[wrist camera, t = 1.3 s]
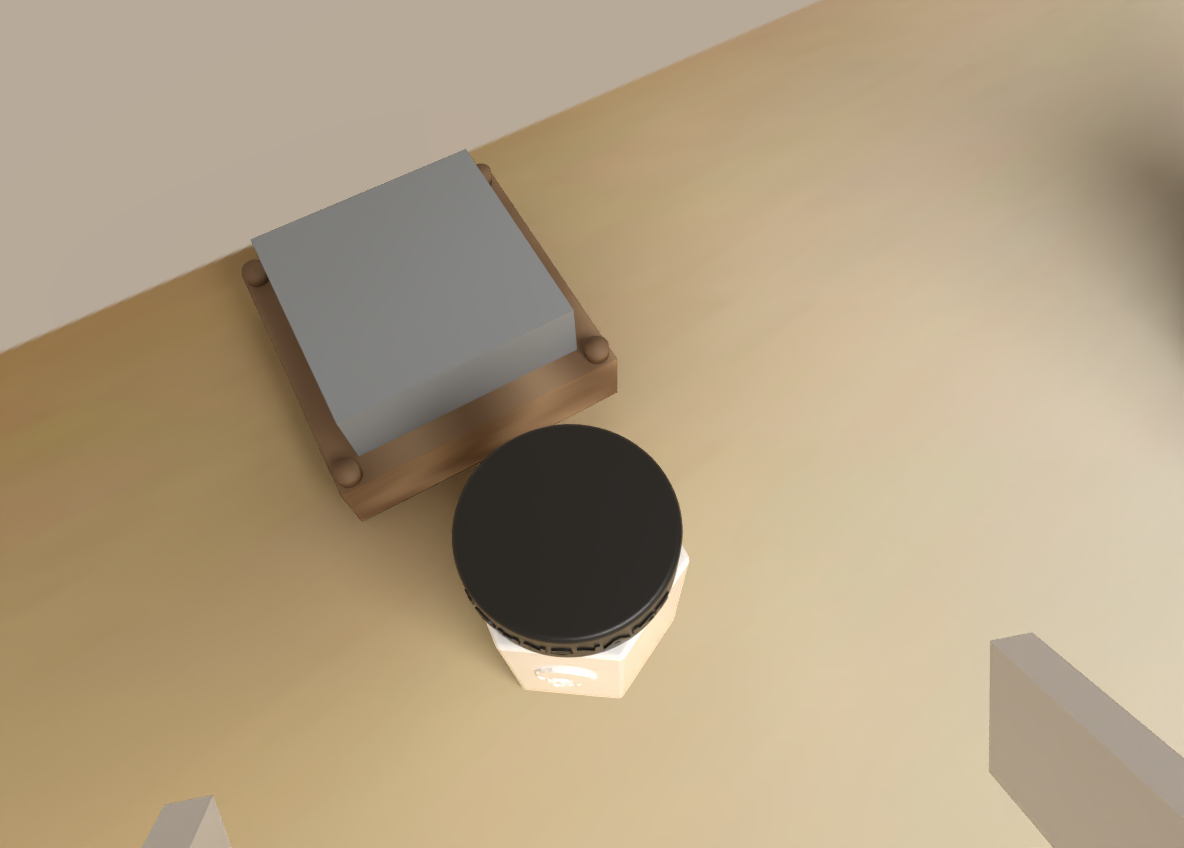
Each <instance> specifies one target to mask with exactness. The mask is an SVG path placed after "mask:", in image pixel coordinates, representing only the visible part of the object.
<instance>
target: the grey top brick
mask: <svg viewBox="0 0 1184 848" xmlns="http://www.w3.org/2000/svg"><path fill="white" fill-rule="evenodd" d="M251 242H252V244H253V246H254V248H255V250H256V252H257V255H258V257H259V259H260V261H261V263H262V265H263V267H264V270H265V272H266V274H267V276H268V278H269V280H270V282H271V285H272V287H273V289H274V291H275V293H276V295H277V297H278V300H279V302H280V304H281V306H282V308H283V310H284V312H285V315H286V317H287V319H288V321H289V323H290V325H291V327H292V330H293V332H294V334H295V336H296V338H297V340H298V342H299V345H300V347H301V349H302V351H303V353H304V355H305V357H306V360H307V362H308V364H309V366H310V368H311V370H312V372H313V375H314V377H315V379H316V381H317V383H318V385H319V387H320V390H321V392H322V394H323V396H324V398H325V400H326V402H327V405H328V407H329V409H330V411H331V413H332V415H333V417H334V420H335V422H336V424H337V425H338V427H339V428H340V430H341V431H342V433H343V434H344V435H345V437H346V438H347V440H348V441H349V443H350V444H351V446H352V447H353V449H354V450H355V452H356V453H357V454H358V456H361V455H363V454H365V453H367V452H369V451H371V450H373V449H375V448H377V447H379V446H381V445H383V444H385V443H387V442H389V441H392V440H394V439H396V438H398V437H400V436H402V435H404V434H406V433H408V432H410V431H412V430H414V429H416V428H418V427H420V426H422V425H424V424H426V423H428V422H430V421H432V420H434V419H436V418H438V417H441V416H443V415H445V414H447V413H449V412H451V411H453V410H455V409H457V408H459V407H461V406H463V405H465V404H467V403H469V402H471V401H473V400H475V399H477V398H479V397H481V396H483V395H485V394H487V393H489V392H492V391H494V390H496V389H498V388H500V387H502V386H504V385H506V384H508V383H510V382H512V381H514V380H516V379H518V378H520V377H522V376H524V375H526V374H528V373H530V372H532V371H534V370H536V369H538V368H541V367H543V366H545V365H547V364H549V363H551V362H553V361H555V360H557V359H559V358H561V357H563V356H565V355H567V354H569V353H571V352H573V351H575V350H577V344H576V332H575V320H574V310H573V308H572V307H571V305H570V304H569V302H568V301H567V299H566V298H565V296H564V295H563V293H562V292H561V290H560V289H559V288H558V286H557V285H556V283H555V282H554V280H553V279H552V277H551V276H550V274H549V273H548V271H547V270H546V268H545V267H544V265H543V264H542V262H541V261H540V259H539V258H538V256H537V255H536V253H535V252H534V250H533V249H532V247H531V246H530V244H529V243H528V241H527V240H526V238H525V237H524V235H523V234H522V232H521V231H520V229H519V228H518V226H517V225H516V223H515V222H514V220H513V219H512V217H511V216H510V214H509V213H508V211H507V210H506V208H505V207H504V205H503V204H502V202H501V201H500V199H499V198H498V196H497V195H496V194H495V192H494V191H493V189H492V188H491V186H490V185H489V183H488V182H487V180H486V179H485V177H484V176H483V174H482V173H481V171H480V170H479V168H478V167H477V165H476V164H475V162H474V161H473V159H472V158H471V156H470V155H469V153H468V152H467V150H466V149H465V150H462V151H460V152H458V153H456V154H453V155H451V156H448V157H446V158H443V159H441V160H439V161H436V162H434V163H432V164H429V165H427V166H424V167H422V168H420V169H417V170H415V171H413V172H410V173H408V174H405V175H403V176H401V177H398V178H396V179H394V180H391V181H389V182H386V183H384V184H382V185H379V186H377V187H374V188H372V189H370V190H367V191H365V192H363V193H360V194H358V195H356V196H353V197H351V198H348V199H346V200H344V201H341V202H339V203H336V204H334V205H332V206H329V207H327V208H325V209H322V210H320V211H318V212H315V213H313V214H310V215H308V216H306V217H303V218H301V219H298V220H296V221H294V222H292V223H289V224H287V225H284V226H282V227H279V228H277V229H275V230H272V231H270V232H268V233H265V234H263V235H260V236H258V237H256V238H253V239H251Z"/></svg>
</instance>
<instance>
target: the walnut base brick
mask: <svg viewBox="0 0 1184 848" xmlns="http://www.w3.org/2000/svg"><path fill="white" fill-rule="evenodd" d="M476 165H477V167H478V168H479V170H480V171H481V173H482V174H483V176H484V177H485V179H486V180H487V182H488V183H489V185H490V186H491V188H492V189H493V191H494V192H495V194H496V195H497V196H498V198H499V199H500V201H501V202H502V204H503V205H504V207H505V208H506V210H507V211H508V213H509V214H510V216H511V217H512V219H513V220H514V222H515V223H516V225H517V226H518V228H519V229H520V231H521V232H522V234H523V235H524V237H525V238H526V240H527V241H528V243H529V244H530V246H531V247H532V249H533V250H534V252H535V253H536V255H537V256H538V258H539V259H540V261H541V262H542V264H543V265H544V267H545V268H546V270H547V271H548V273H549V274H550V276H551V277H552V279H553V280H554V282H555V283H556V285H557V286H558V288H559V289H560V290H561V292H562V293H563V295H564V296H565V298H566V299H567V301H568V302H569V304H570V305H571V307H572V308H573V310H574V320H575V332H576V344H577V350H575V351H573V352H571V353H569V354H567V355H565V356H563V357H561V358H559V359H557V360H555V361H553V362H551V363H549V364H547V365H545V366H543V367H541V368H538V369H536V370H534V371H532V372H530V373H528V374H526V375H524V376H522V377H520V378H518V379H516V380H514V381H512V382H510V383H508V384H506V385H504V386H502V387H500V388H498V389H496V390H494V391H492V392H489V393H487V394H485V395H483V396H481V397H479V398H477V399H475V400H473V401H471V402H469V403H467V404H465V405H463V406H461V407H459V408H457V409H455V410H453V411H451V412H449V413H447V414H445V415H443V416H441V417H438V418H436V419H434V420H432V421H430V422H428V423H426V424H424V425H422V426H420V427H418V428H416V429H414V430H412V431H410V432H408V433H406V434H404V435H402V436H400V437H398V438H396V439H394V440H392V441H389V442H387V443H385V444H383V445H381V446H379V447H377V448H375V449H373V450H371V451H369V452H367V453H365V454H363V455H361V456H358V454H357V453H356V452H355V450H354V449H353V447H352V446H351V444H350V443H349V441H348V440H347V438H346V437H345V435H344V434H343V433H342V431H341V430H340V428H339V427H338V425H337V424H336V422H335V420H334V417H333V415H332V413H331V411H330V409H329V407H328V405H327V402H326V400H325V398H324V396H323V394H322V392H321V390H320V387H319V385H318V383H317V381H316V379H315V377H314V375H313V372H312V370H311V368H310V366H309V364H308V362H307V360H306V357H305V355H304V353H303V351H302V349H301V347H300V345H299V342H298V340H297V338H296V336H295V334H294V332H293V330H292V327H291V325H290V323H289V321H288V319H287V317H286V315H285V312H284V310H283V308H282V306H281V304H280V302H279V300H278V297H277V295H276V293H275V291H274V289H273V287H272V285H271V282H270V280H269V278H268V276H267V274H266V272H265V270H264V267H263V265H262V263H261V261H260V260H251V261H249V262H247V263H246V264H245V265H244V266H243V268H242V276H243V278H244V281H245V283H246V285H247V287H248V290H249V292H250V294H251V296H252V299H253V301H254V303H255V305H256V307H257V310H258V312H259V314H260V316H261V319H262V321H263V323H264V325H265V328H266V330H267V332H268V334H269V336H270V339H271V341H272V343H273V345H274V348H275V350H276V352H277V354H278V357H279V359H280V361H281V363H282V365H283V368H284V370H285V372H286V374H287V377H288V379H289V381H290V383H291V385H292V388H293V390H294V392H295V394H296V397H297V399H298V401H299V403H300V406H301V408H302V410H303V412H304V414H305V417H306V419H307V421H308V423H309V426H310V428H311V430H312V432H313V435H314V437H315V439H316V441H317V443H318V446H319V448H320V450H321V452H322V455H323V457H324V459H325V461H326V463H327V466H328V468H329V470H330V472H331V475H332V477H333V479H334V481H335V484H336V486H337V488H338V490H339V492H340V495H341V497H342V498H343V499H344V500H345V501H346V503H347V504H348V505H349V506H350V508H351V509H352V510H353V511H354V512H355V514H356V515H357V516H358V517H359V519H360V520H361V521H364V520H366V519H368V518H370V517H372V516H374V515H376V514H378V513H380V512H382V511H384V510H386V509H388V508H390V507H392V506H394V505H396V504H398V503H400V502H402V501H404V500H406V499H408V498H410V497H412V496H414V495H416V494H418V493H420V492H422V491H423V490H425V489H427V488H429V487H431V486H433V485H435V484H437V483H439V482H441V481H443V480H445V479H447V478H449V477H451V476H453V475H455V474H457V473H459V472H461V471H463V470H465V469H467V468H469V467H471V466H473V465H475V464H477V463H479V462H481V461H483V460H485V459H486V458H487V457H488V456H489V455H490V454H491V453H492V452H494V451H495V450H496V449H497V448H499V447H500V446H502V445H503V444H505V443H506V442H508V441H509V440H511V439H513V438H515V437H517V436H519V435H521V434H524V433H526V432H529V431H532V430H535V429H538V428H542V427H547V426H552V425H554V424H555V423H557V422H559V421H561V420H563V419H565V418H567V417H569V416H571V415H573V414H575V413H577V412H579V411H581V410H583V409H585V408H587V407H589V406H591V405H593V404H595V403H597V402H599V401H601V400H603V399H605V398H607V397H609V396H611V395H613V394H615V393H617V358H616V356H615V355H614V353H613V352H612V350H611V349H610V347H609V344H608V341H607V340H606V339H605V338H604V337H602V336H601V334H600V333H599V331H598V330H597V328H596V327H595V325H594V324H593V322H592V321H591V319H590V318H589V316H588V315H587V314H586V312H585V311H584V309H583V308H582V306H581V305H580V303H579V302H578V300H577V299H576V297H575V296H574V294H573V293H572V291H571V290H570V288H569V287H568V285H567V284H566V283H565V281H564V280H563V278H562V277H561V275H560V274H559V272H558V271H557V269H556V268H555V266H554V265H553V263H552V262H551V260H550V259H549V257H548V256H547V254H546V253H545V252H544V250H543V249H542V247H541V246H540V244H539V243H538V241H537V240H536V238H535V237H534V235H533V234H532V232H531V231H530V229H529V228H528V226H527V225H526V223H525V222H524V221H523V219H522V218H521V216H520V215H519V213H518V212H517V210H516V209H515V207H514V206H513V204H512V203H511V201H510V200H509V198H508V197H507V195H506V194H505V193H504V191H503V190H502V188H501V187H500V185H499V184H498V182H497V181H496V179H495V178H494V176H493V175H492V173H491V170H490V168H489V166H487V165H485V164H476Z"/></svg>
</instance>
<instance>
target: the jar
mask: <svg viewBox="0 0 1184 848" xmlns="http://www.w3.org/2000/svg"><path fill="white" fill-rule="evenodd" d="M682 537H683V528H682V517H681V511H680V507H679V503H678V500H677V497H676V494H675V492H674V490H673V487H672V485H671V483H670V482H669V480H668V478H667V476H666V475H665V473H664V472H663V470H662V469H661V468H660V466H659V465H658V464H657V463H656V462H655V461H654V459H653V458H652V457H651V456H649V455H648V454H647V453H646V452H645V451H644V450H643V449H641V448H640V447H639V446H638V445H636V444H634V443H633V442H631V441H630V440H628V439H626V438H624V437H622V436H620V435H618V434H616V433H613V432H611V431H608V430H605V429H601V428H598V427H593V426H587V425H577V424H564V425H553V426H547V427H542V428H538V429H535V430H532V431H529V432H526V433H524V434H521V435H519V436H517V437H515V438H513V439H511V440H509V441H508V442H506V443H505V444H503V445H502V446H500V447H499V448H497V449H496V450H495V451H494V452H492V453H491V454H490V455H489V456H488V457H487V458H486V459H485V460H484V461H483V462H482V463H481V464H480V465H479V466H478V467H477V469H476V470H475V471H474V473H473V474H472V475H471V477H470V478H469V480H468V482H467V483H466V485H465V487H464V489H463V491H462V493H461V495H460V498H459V501H458V504H457V507H456V511H455V515H454V520H453V528H452V546H453V554H454V559H455V564H456V567H457V570H458V573H459V576H460V578H461V580H462V583H463V585H464V587H465V588H466V589H465V591H466V594H467V595H468V598H469V599H470V601H471V603H472V604H473V605H474V604H475V605H476V606H477V607H475V609H476V610H477V611H478V613H479V614H480V615H481V617H482V618H483V619H484V620H485V622H486V624H487V627H488V629H489V632H490V634H491V637H492V639H493V642H494V644H495V647H496V648H497V650H498V651H499V653H500V654H501V656H502V657H503V659H504V660H505V662H506V663H507V665H508V666H509V668H510V669H511V671H512V673H513V674H514V676H515V677H516V679H517V680H518V682H519V683H520V685H521V686H522V688H523V689H526V690H535V691H545V692H556V693H567V694H578V695H588V696H599V697H610V698H621V697H623V696H624V694H625V693H626V691H627V690H628V688H629V687H630V685H631V684H632V682H633V681H634V679H635V677H636V676H637V674H638V673H639V671H640V670H641V668H642V667H643V665H644V664H645V662H646V661H647V659H648V658H649V656H650V655H651V653H652V652H653V650H654V649H655V647H656V646H657V644H658V643H659V641H660V640H661V638H662V637H663V635H664V634H665V632H666V631H667V629H668V628H669V626H670V625H671V623H672V621H673V620H674V618H675V614H676V610H677V606H678V602H679V599H680V595H681V591H682V587H683V583H684V579H685V576H686V572H687V568H688V564H689V556H688V554H687V552H686V551H685V549H684V547H683V545H682Z"/></svg>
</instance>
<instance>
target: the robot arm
mask: <svg viewBox="0 0 1184 848" xmlns="http://www.w3.org/2000/svg"><path fill="white" fill-rule="evenodd" d="M989 772H990V773H991V775H992V776H993V777H994V778H995V779H996V780H997V782H998V783H999V784H1000V785H1001V786H1002V788H1003V789H1004V790H1005V791H1006V792H1007V793H1008V795H1009V796H1010V797H1011V798H1012V799H1013V801H1014V802H1015V803H1016V804H1017V805H1018V806H1019V808H1020V809H1021V810H1022V811H1023V812H1024V814H1025V815H1026V816H1027V817H1028V818H1029V819H1030V821H1031V822H1032V823H1033V824H1034V825H1035V826H1036V828H1037V829H1038V830H1039V831H1040V832H1041V834H1042V835H1043V836H1044V837H1045V838H1046V839H1047V841H1048V842H1049V843H1050V844H1051V845H1052V847H1053V848H1184V758H1183V757H1182V756H1181V755H1179V754H1178V753H1177V752H1176V751H1175V750H1173V749H1172V748H1171V747H1170V746H1168V745H1167V744H1166V743H1165V742H1164V741H1162V740H1161V739H1160V738H1159V737H1158V736H1156V735H1155V734H1154V733H1153V732H1152V731H1150V730H1149V729H1148V728H1147V727H1146V726H1144V725H1143V724H1142V723H1141V722H1140V721H1138V720H1137V719H1136V718H1135V717H1134V716H1132V715H1131V714H1130V713H1129V712H1128V711H1126V710H1125V709H1124V708H1123V707H1121V706H1120V705H1119V704H1118V703H1117V702H1115V701H1114V700H1113V699H1112V698H1111V697H1109V696H1108V695H1107V694H1106V693H1105V692H1103V691H1102V690H1101V689H1100V688H1099V687H1097V686H1096V685H1095V684H1094V683H1093V682H1091V681H1090V680H1089V679H1088V678H1087V677H1085V676H1084V675H1083V674H1082V673H1080V672H1079V671H1078V670H1077V669H1076V668H1074V667H1073V666H1072V665H1071V664H1070V663H1068V662H1067V661H1066V660H1065V659H1064V658H1062V657H1061V656H1060V655H1059V654H1058V653H1056V652H1055V651H1054V650H1053V649H1052V648H1050V647H1049V646H1048V645H1047V644H1046V643H1044V642H1043V641H1042V640H1041V639H1039V638H1038V637H1037V636H1036V635H1035V634H1033V633H1027V634H1022V635H1017V636H1012V637H1007V638H1002V639H997V640H992V641H990V724H989ZM142 848H232V847H231V844H230V842H229V839H228V836H227V833H226V830H225V827H224V824H223V821H222V818H221V816H220V813H219V810H218V807H217V804H216V801H215V798H214V795H211V796H206V797H201V798H196V799H191V800H186V801H181V802H176V803H171V804H166V805H164V807H163V809H162V810H161V812H160V814H159V816H158V818H157V820H156V822H155V824H154V826H153V828H152V830H151V831H150V833H149V835H148V837H147V839H146V841H145V843H144V845H143V847H142Z"/></svg>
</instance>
